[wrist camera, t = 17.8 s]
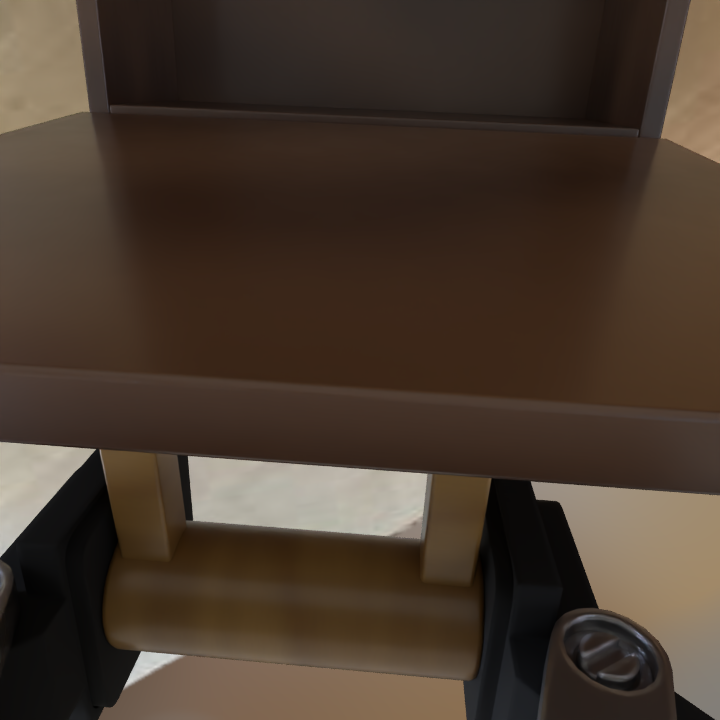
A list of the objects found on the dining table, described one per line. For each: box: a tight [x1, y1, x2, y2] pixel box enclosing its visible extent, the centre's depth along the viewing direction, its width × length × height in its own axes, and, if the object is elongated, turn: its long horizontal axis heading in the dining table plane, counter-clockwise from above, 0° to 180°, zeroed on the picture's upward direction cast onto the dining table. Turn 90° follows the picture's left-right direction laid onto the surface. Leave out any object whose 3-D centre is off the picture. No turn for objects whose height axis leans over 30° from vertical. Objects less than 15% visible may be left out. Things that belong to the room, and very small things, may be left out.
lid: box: [0, 112, 720, 681], centre depth 12 cm, size 14×16×6 cm
